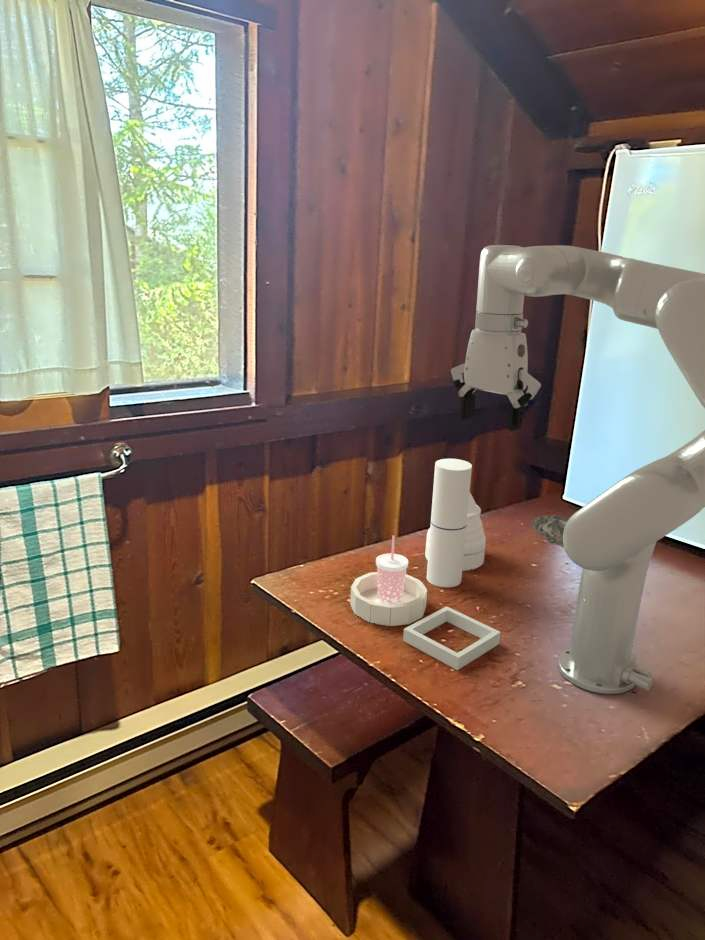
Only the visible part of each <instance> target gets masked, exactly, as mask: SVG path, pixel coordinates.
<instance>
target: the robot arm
mask: <svg viewBox="0 0 705 940" xmlns="http://www.w3.org/2000/svg"><path fill="white" fill-rule="evenodd" d="M479 257H480V258H479V266H478V268H479V269H478V282H477V285H478V286H477V298H476V308H475V310H476V312H475V323H474V325H475V326H474V329H472V330H471V333H470V337H469V340H468V344H467V350H466V355H465V362H464V363H461V364H459V365H457V366H454V367H452V368H451V369H450V373H451V376H452V380H453V384H454V387H455V388H456V390H457V391H458V396H459V397H460V420H463V421H466V420H469V419H473V418H474V417H475V412H476V411H475V408H476V395H475V394H474V392H476V391H477V390H479V391H484V392H488V393H489V392H490V393H493V394H499V395H506V396H507V397H508V399H509V402H510V403H511V405H512V406H511V407H509V409H508V411H509V412H508V420H507V421H508V422H507V430H508V431H509V432H514V431H518V430H520V429H521V428H522V425H523V422H524V415H525V407H526V406H527V405H528V404H529V403H530V402H531V401H533V400H534V399H535V398H536V395H537V393H538V392H539V391H540V388H541V387H542V384H541V382H539V381H538V380H537V379H536V378H534V377H533V376H532V375H531V374H530V373H529V372H528V365H529V363H528V360H529V359H528V358H529V356H528V355H529V353H528V344H527V337H526V332H525V333H523V332H522V330H523V328H524V329H525V328H527V327H528V325H529V321H528V319H527V318H524V314H523V312H524V305H525V303H524V302H525V296H526V297H532V298H533V297H548V296H554V295H557V296H558V295H567V296H568V295H569V296H573V297H574V296H575V297H578V298H583V299H586V300H591V301H595V302H598V303H601V304H605V305H606V306H608V307H609V308H611V309H612V311H613V314H614V316H615V317H616V318H618V319H619V320H621V321H625V322H627V323H631V324H636V325H640V326H645V327H649V328H653V329H656V330H658V333H659V336H660V338H661V340H662V341H663V343H664V345H665V347H666V349H667V350H668V352H669V354H670V356H671V357H672V359H673V361H674V362H675V364H676V365H677V367H678V369H679V371H680V373H681V374H682V375H683V377H684V379H685V381H686V382H687V383H688V386H689V387H690V389H691V390H692V391H693V393H694V395H695V397H696V398H697V400H698V401H699V403H700V405H702V407H703V408H704V409H705V273H702V272H699V271H695V270H694V271H693V270H689V269H683V268H679V267H673V266H668V265H663V264H659V263H658V264H657V263H653V262H649V261H645V260H640V259H639V260H638V259H635V258H628V257H624V256H621V255H616V254H613V253H609V252H608V253H607V252H604V251H599V250H593V249H588V248H583V247H580V246H579V247H578V246H573V245H562V244H560V245H559V244H558V245H535V246H534V245H533V246H532V245H531V246H526V247H524V246H523V247H522V246H520V245H512V244H511V245H507V244H506V245H505V244H503V245H502V244H496V245H495V244H490V245H487V246H485V247H483V249H482V250H481V252H480V256H479ZM463 374H464V375H463ZM463 377H464V378H463ZM526 388H527V390H526ZM525 390H526V392H525V393H524V392H523V391H525ZM704 508H705V429H704V430H703V431H702V432H700V433H699V434H698V435H697V436H696V437H694V438H693V439H691V440H690V441H688V442H686V443H685V444H684V445H683V446H681V447H680V448H678V449H676V450H674V451H673V452H672V453H670V454H668V455H666V456H663V457H661V458H659V459H656V460H654V461H652V462H650V463H648V464H646V465H643V466H642V467H639V468H637V469H636V470H634V471H632V472H631V473H629V474H628V475H626V476H625V477H623V478H622V479H620V480H618V482H616V483H615V484H613V485H612V486H610V487H609V488H608V489H606V490H605V491H603V492H602V493H601V494H599V495H598V496H596V497H595V498H593V499H592V500H591V501H589V502H588V503H587V504H585V505H584V506H582V507H581V508H580V509H579V510H577V511H575V512H574V513H573V514H572V515H571V516H570V517H569V518H568V519H569V520H568V521H567V523H566V525H565V528H564V532H563V545H564V547H563V549H564V552H565V553H566V555H567V556H568V558H569V559H570V561H571V562H573V563H574V564H575V565H576V566H578V567H579V568H582V569H581V576H580V582H579V587H578V593H577V594H578V595H577V601H576V606H575V614H574V621H573V627H572V633H571V640H570V646H569V647H568V648H566V649H565V650H563V651H562V652H561V653H560V655H559V657H558V662H557V667H558V670H559V672H560V673H561V675H562V676H563V677H564V678H565V679H566V680H568V681H569V682H570V683H572V684H573V685H574V686H577V687H579V688H581V689H583V690H586V691H589V692H593V693H597V694H604V695H616V694H623V693H625V692H628V691H630V690H632V689H633V688H634V687H635V686H636V687H637V688H641V689H643V690H644V691H647V692H648V691H650V689H651V688H652V685H653V683H654V681H653V679H652V678H651V677H652V671H650V670H648V669H645V667H644V668H643V667H641V666H639V664H638V663H637V657H638V654H636V653H634V652H632V650H633V647H634V643H635V642H634V641H635V636H636V635H635V634H636V630H637V626H638V625H637V624H638V620H639V619H638V618H639V613H640V609H641V608H640V607H641V602H642V598H643V595H644V594H643V593H644V589H645V583H646V578H647V573H648V569H649V566H650V562H651V559H652V556H653V553H654V550H655V547H656V544H657V541H659V540H661V539H662V538H664V537H666V536H667V535H669V534H670V533H672V532H673V531H675V530H678V528H680V527H681V526H683V525H684V524H686V523H687V522H688V521H690V520H691V519H693V518H694V517H695V516H697V514H699V513H700V512H701V511H702V510H703V509H704Z"/></svg>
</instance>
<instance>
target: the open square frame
mask: <svg viewBox="0 0 705 940" xmlns="http://www.w3.org/2000/svg"><path fill="white" fill-rule="evenodd" d="M446 622H447V623H449V624H450V625H453V626H454V627H457V628H459V629H461V630H463V631H465V632H467V633H469V634H470V635H473V636H475V637H477V638H479V639H478V640H477V641H475V642H474V643H471V644H470V645H468V646H467V647H465V648H464V649H462V650H460V651H458V652H457V651H454V650H452V649H450V648H449V647H447V646H444V645H443V644H441V643H439V642H437V641H436V640H434V639H431V638H430V637H428V636H426V635H424V634H426V633H428V632H430V631H432V630H433V629H436V628H438V627H439V626H441V625H443V624H445V623H446ZM501 634H502V633H501V631H499V630H497V629H495V628H493V627H491V626H489V625H487V624H484V623H482V622H481V621H478V620H477V619H474V618H472V617H470V616H467V615H465V614H464V613H461V612H459V611H458V610H456V609H453V608H451V607H449V606H444V607H442V608H441V609H439V610H437V611H435V612H433V613H431V614H430V615H427V616H425V617H424V618H423V617H422V618H421V619H419V620H417V621H415V622H414V623H413V624H412V623H411V624H409V625H407V627H405V628H403V636H402V637H403V638H402V641H403V642H405V643H407V644H409V645H410V646H412V647H413V648H416V649H417V650H419V651H421V652H423V653H425V654H427V655H428V656H430V657H433V659H436V660H438V661H439V662H442V663H443V664H445V665H446V666H449V667H450V668H453V670H456V671H459V670H460V669H462V668H464V667H465V666H467V665H469V664H470V663H471V662H473V661H475V660H476V659H478V658H479V657H481V656H482V655H484V654H486V653H487V652H489V651H490V650H492V649H493V648H496V647H497V646H498V645H499V644H500V643H501V642H500V641H501V640H500V639H501Z"/></svg>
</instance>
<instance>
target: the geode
mask: <svg viewBox="0 0 705 940" xmlns="http://www.w3.org/2000/svg"><path fill="white" fill-rule="evenodd" d="M569 519H570V518H568V517H566V516H562V517H561V516H559V515H556V514H551V515H549V514H548V515H541V516H540V515H539V516H538V517H537V518H533V519H532V520H531V521H530V523H529V524H530V525H531V528H532V529H533V530H534V531H535V532H536V533H538V534H540V535H542V536H544V537H546V539H547V541H548V542H549V543H550V544H552V545H555V546H559V547H562V548H564V545H563V532H564V528H565V525H566V523H567V521H568V520H569Z"/></svg>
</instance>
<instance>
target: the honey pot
mask: <svg viewBox="0 0 705 940" xmlns="http://www.w3.org/2000/svg"><path fill="white" fill-rule="evenodd" d="M481 514H482V509H481V506H479V505H477V503H476V501H475V499H474V497H473V495H472V493H471V492H470V493H469V504H468V515H467V525H466V536H465V547H464V557H463V568H462V572H463V571H471V569H472V570H475V569H477V568H479V567H481V566H482V565H483V564H484V561H485V555H486V554H485V552H486V544H487V543H486V542H487V537H486V535H485V529H484V526H483V525H484V524H483V521H482V520H481ZM429 539H430V528H428V530H427V533H426V539H425V540H426V542H425V552H424V554H425V555H424V556H425V559H426V560H427V561H428V552H429Z"/></svg>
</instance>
